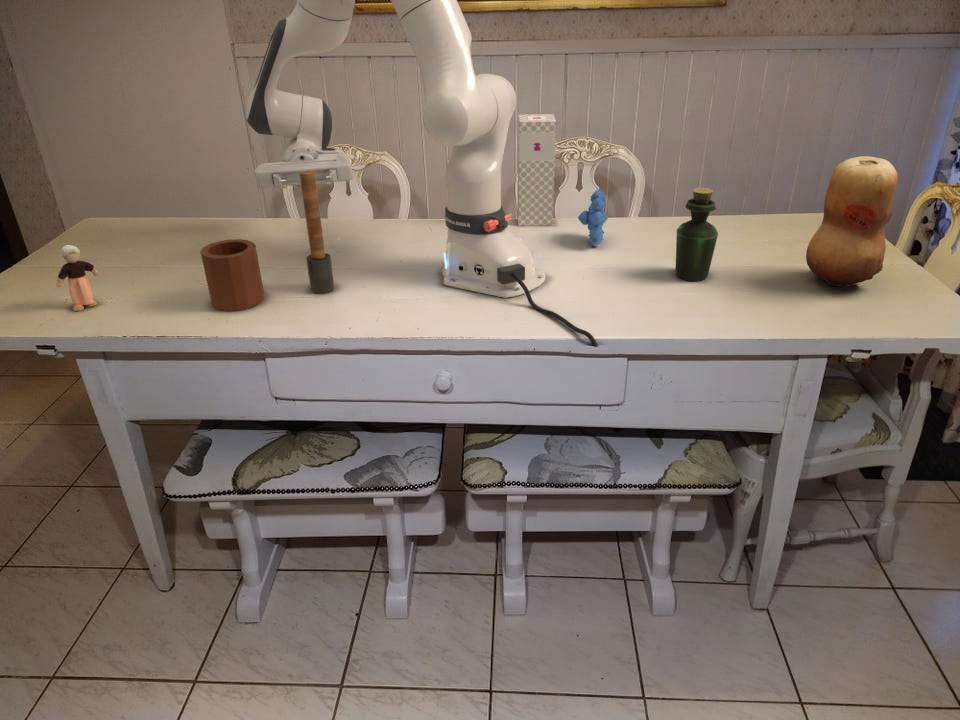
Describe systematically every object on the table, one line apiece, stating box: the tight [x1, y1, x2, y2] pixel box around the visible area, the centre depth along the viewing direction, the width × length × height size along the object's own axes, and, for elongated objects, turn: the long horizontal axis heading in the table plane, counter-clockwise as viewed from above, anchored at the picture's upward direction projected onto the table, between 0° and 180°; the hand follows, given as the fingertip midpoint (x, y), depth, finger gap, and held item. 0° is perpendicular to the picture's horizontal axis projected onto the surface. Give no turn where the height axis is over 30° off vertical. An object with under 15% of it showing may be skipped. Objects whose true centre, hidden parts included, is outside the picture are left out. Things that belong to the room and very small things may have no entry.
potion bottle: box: [675, 187, 719, 282], centre depth 147 cm, size 8×8×18 cm
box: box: [516, 113, 557, 227], centre depth 178 cm, size 8×8×25 cm
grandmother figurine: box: [56, 244, 99, 312], centre depth 141 cm, size 8×4×13 cm, turn 148°
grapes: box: [577, 189, 608, 247], centre depth 167 cm, size 12×7×12 cm, turn 173°
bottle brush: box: [299, 170, 336, 295], centre depth 143 cm, size 5×5×24 cm
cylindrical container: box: [200, 238, 265, 312], centre depth 142 cm, size 10×10×11 cm
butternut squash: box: [805, 155, 899, 288], centre depth 141 cm, size 14×13×25 cm
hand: (306, 182), depth 150 cm, fingers open, 8 cm apart
